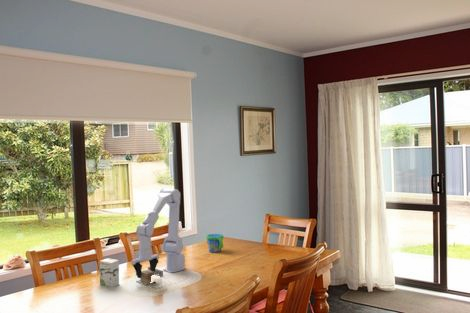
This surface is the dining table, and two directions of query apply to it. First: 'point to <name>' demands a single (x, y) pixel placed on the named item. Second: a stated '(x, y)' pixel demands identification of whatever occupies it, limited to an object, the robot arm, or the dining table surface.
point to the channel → (156, 271)
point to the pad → (141, 282)
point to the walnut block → (146, 276)
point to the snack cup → (215, 242)
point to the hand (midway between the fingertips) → (145, 275)
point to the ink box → (109, 272)
